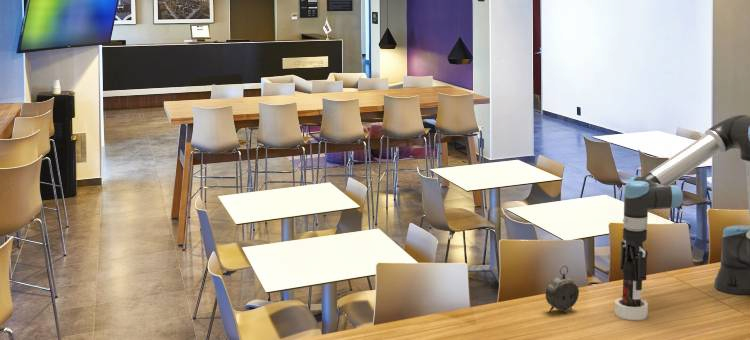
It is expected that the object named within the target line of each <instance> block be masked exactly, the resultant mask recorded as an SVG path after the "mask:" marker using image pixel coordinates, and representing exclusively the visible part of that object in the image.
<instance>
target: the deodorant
mask: <svg viewBox="0 0 750 340" xmlns="http://www.w3.org/2000/svg"><path fill="white" fill-rule="evenodd" d="M623 266H624V273H622V275H623V278H622V279H623V281H622V297H621V298H622V305H624V306H628V307H641V300H642V298H641V299H635V300H633V279H635V275H634V265H633V261H629V262H624V265H623Z"/></svg>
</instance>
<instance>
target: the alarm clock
mask: <svg viewBox="0 0 750 340" xmlns="http://www.w3.org/2000/svg"><path fill="white" fill-rule="evenodd" d="M563 268H566V270H567V271H566V273H562V269H563ZM568 272H569V267H568V266H566V265H562V266H561V267H560V268H559V274H560V275H559V276H557V277H555V278H553V279H552V280H551V281H550V282H549V283H548V285H547V286H546V289H545V300H546V301H547V304H549V305H550V306H551V307H550V310H548V313H551V312H552V311H553V309H556V310H558V311H564V314H566V315H567V310H569V309H570V310H572V309H573V306H575V304H576V302H577V301H578V299H579V294H580V289H579V286H578V285H577V283H576V282H575V281H574V280H573V279H571V278H569V277H567V276H566V275H567V274H568Z"/></svg>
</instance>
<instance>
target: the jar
mask: <svg viewBox="0 0 750 340" xmlns="http://www.w3.org/2000/svg"><path fill="white" fill-rule="evenodd" d="M648 311H649V302H647V301H646V300H645V299H641V307H628V306H624V305H622V297H619V298H617V299H615V302H614V315H615V316H616V317H618V318H620V319H623V320H627V321H642V320H645V319H647V318H648V313H649V312H648Z"/></svg>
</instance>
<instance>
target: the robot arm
mask: <svg viewBox="0 0 750 340" xmlns="http://www.w3.org/2000/svg"><path fill="white" fill-rule="evenodd" d="M732 149H733V150H734V149H739V152H740V153H739V154H740V160H741V161H743V162H744V163H745V171H746V172H745V173H746V185H747V187H746V188H747V199H748V214H749V215H748V216H749V219H750V115H747V114H738V115H733V116H730V117H727V118H726V119H724V120H722V121H720V122H718V123H716V124H715V125H713V126H711V127H710V128H708V129H707V130H705V132H704V135H703V136H701V137H700V138H698V139H697V140H695V141H693V143H691V144H689V145H688V146H687V147H685V148H683V149H682V150H680V151H679V152H678V153H676V154H674V155H673V156H671V157H670V158H668V159H666V161H664V162H662V163H661V164H659V165H658V166H656V167H654V168H653V169H652V170H650V171H648V172H647V173H645V174H644V175H642V176H632V177H631V178H629V179H628V180H627V182H626V184H625V187H624V194H623V197H624V198H623V201H624V202H623V219H622V223H623V227H624V228H623V229H622V239H623V240H624V241H620V242H621V243H620V245H621V249H620V250H621V253H620V262H619V263H620V264H619V265H620V266H619V268H620V271H622V274H624V262H629V261H633V265H634V275H635V279H633V300H635V299H641V300H642V293H643V292H642V289H643V287H642V286H643V281H646V280H647V269H648V268H647V266H648V265H647V262H648V261H647V260H648V253H649V252H648V250H644V245H643V244H644V242H646V240H647V236H648V231H647V229H648V216H649V215H648V214H649V211H653V210H667V209H668V210H671V209H674V208H679V207H680V206H681V205H682V204H683V201H684V194H683V190H682V189H681V187H680V186H678V185H672V184H673V183H675V182H677V181H678V180H679V179H680V178H683V177H684V176H686V175H687V174H688V173H690V172H691V171H693V170H694V169H696V168H697V167H699V166H701V165H702V164H704V163H706V162H707V161H708V160H709V159H711V158H713V157H714V156H716V155H717V154H720V155H721V154H724V153H726V152H727V151H729V150H732ZM722 230H723V231H722V237H721V256H720V267H719V269H718V272H717V274H716V277H715V278H714V281H713V282H714V285H713V287H714V288H715V289H716V290H718V291H721V292H724V293H727V294H733V295H740V296H741V295H742V296H743V295H745V296H746V295H750V225H731V226H729V225H728V226H726V227H725V228H724V229H722Z"/></svg>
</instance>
